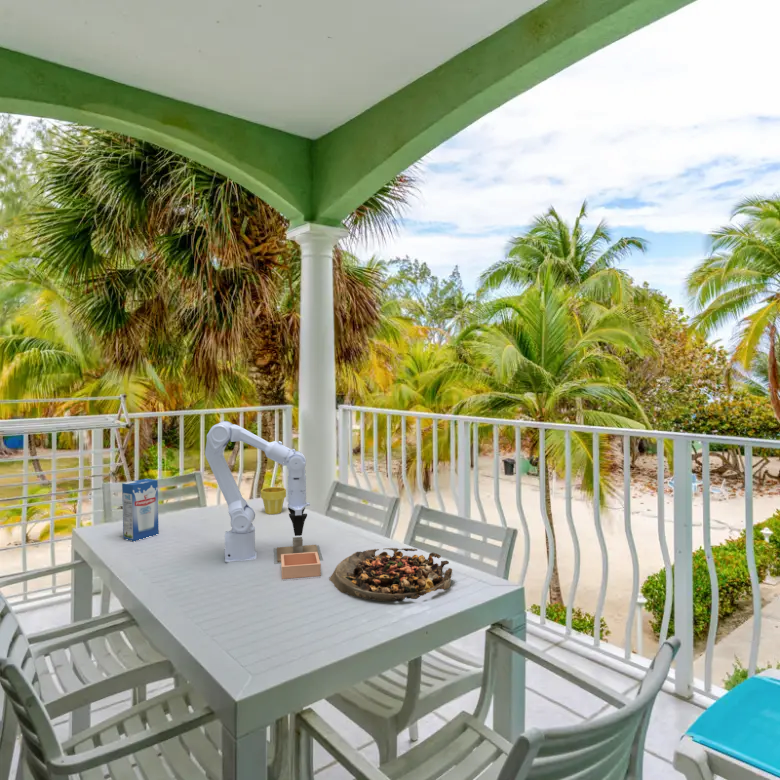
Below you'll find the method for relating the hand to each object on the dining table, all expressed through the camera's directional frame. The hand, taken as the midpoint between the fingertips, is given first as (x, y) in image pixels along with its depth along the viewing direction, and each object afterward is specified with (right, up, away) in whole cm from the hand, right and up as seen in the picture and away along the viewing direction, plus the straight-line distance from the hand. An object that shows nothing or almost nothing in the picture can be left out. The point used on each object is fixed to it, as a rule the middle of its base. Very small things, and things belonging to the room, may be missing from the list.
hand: (297, 531), depth 179 cm
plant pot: (-19, -6, +54) cm, 58 cm away
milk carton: (-60, -7, +21) cm, 64 cm away
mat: (0, -8, 0) cm, 8 cm away
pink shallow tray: (+3, -8, -14) cm, 17 cm away
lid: (0, -7, 0) cm, 7 cm away
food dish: (+30, -9, -20) cm, 37 cm away
